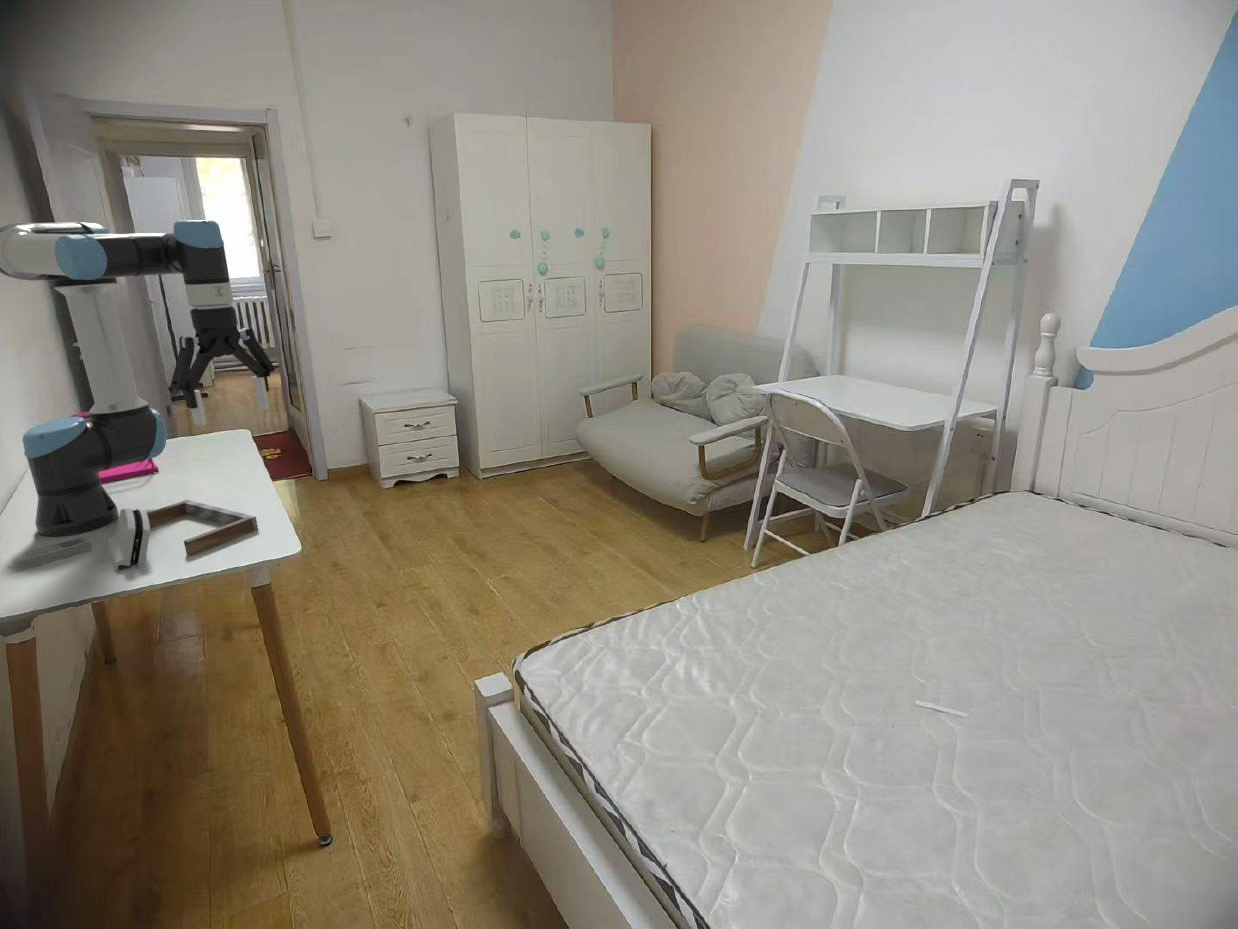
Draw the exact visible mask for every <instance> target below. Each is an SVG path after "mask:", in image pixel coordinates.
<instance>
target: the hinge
mask: <svg viewBox="0 0 1238 929" xmlns="http://www.w3.org/2000/svg"><path fill="white" fill-rule="evenodd" d="M147 513H148V512H146V511H145V510H141V509H139V508H136V509H134V510H133V509H132V508H122V509H120V512H119V517H118V521H117V526H116V529H115V530H116V532H115V534H114V535H112V536H111V537H109V538H108V541H107V546H106V548H107V551H108V554H109V558H110V562H111V566H112V568H113V572H114V573H117V572H118V571H119V566H129V567H130V566H131V565H133V563H134V565H137V566H138V567H142V566H145V565H146V560H147V553H148V548H149V540H150V535H151V528H150V525H149V519H148V516H147Z"/></svg>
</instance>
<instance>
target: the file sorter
mask: <svg viewBox="0 0 1238 929" xmlns="http://www.w3.org/2000/svg"><path fill="white" fill-rule="evenodd" d="M89 416H90V413H89V411H86V412H79V413H75V414H74V413H73V414H72V415H70V416H69V417H82V418H83V419H84V420H85V421H86V422H87V421H91V417H89ZM84 417H89V418H84ZM154 472H158V473H159V472H160V471H159V468H158V465H157V464H156V463H155V462H154V461H153V458H150V459H147V460H145V461H143V462H136V463H132V464H128V465H124V466H120V467H116V468H113V469H109V470H105V471H101V472H99V477H100V481H101V484H103V483H108V482H114V481H120V480H124V479H129V478H136V477H141V475H142V476H146V475H147V476H148V475H151V474H150V473H152V474H155V473H154Z"/></svg>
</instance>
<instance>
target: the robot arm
mask: <svg viewBox="0 0 1238 929" xmlns="http://www.w3.org/2000/svg"><path fill="white" fill-rule="evenodd" d="M172 227H173V232H165V231H163V232H145V233H144V232H141V233H140V232H139V233H111V232H109V230H108V229H107V228H105V227H104V226H103V225H101V224H99V223H95V222H80V221H74V222H72V221H71V222H66V221H65V222H18V223H11V224H6V225H4V226H0V274H2V275H4V276H7V277H10V278H12V279H15V280H23V281H32V282H33V281H36V282H37V281H52V283H53V287H54V290H56V291H57V292H58V293H60V294H62V295H63V296H65V300H66V303H67V307H68V311H69V314H70V317H71V321H72V326H73V328H74V333H75V336H76V339H77V340H76V341H77V343H78V346H79V347H78V348H79V350H80V355H81V358H82V361H83V365H84V369H85V372H86V377H87V380H88V383H89V387H90V391H91V394H92V398H93V401H94V404H93V405H92V407H91V408H90V409H89V411H88V412H89V413H90V417H89V418H91V420H90V421H85V420H84V419H85V418H84V417H70V416H69V417H64V418H56V419H53V420H49V421H46V422H43V423H40V424H37V425H36V426H34V427H31V428H30V429H28V430H27V431H26V432H24V434H23V436H22V443H23V450H24V457H25V458H26V459H27V463H28V467H29V470H30V473H31V477H32V481H33V484H34V488H35V492H36V495H37V507H36V516H35V521H34V522H35V527H36V529H37V530H36V531H37V533H38V535H41V536H46V537H60V536H70V535H76V534H81V533H82V534H83V533H84V532H85V533H86V532H89V531H93V530H95V529H99V528H102V527H104V526H107V525H109V524H112V523H113V522H115V521H116V520H117V519H119V516H120V512H119V510H118V506H117V505H116V503H115V502H114V500H113V499H112V497H111V496H110V495H109V493H108V492H107V491H106V489H105V488H104V486H103V483H101V481H100V477H99V472H101V471H105V470H109V469H113V468H116V467H120V466H124V465H128V464H132V463H136V462H143V461H145V460H147V459H150V458H152V459H153V458H156V457H158V456H160V455H161V454H162V453H163V451H164V449H165V447H166V445H167V438H168V437H167V434H168V433H167V427H166V424H165V423H166V422H165V421H164V419H163V418H162V414H160V412H159V411H157V409H154V408H150V406H149V403H148V401H146V400H145V399H142V398H141V397H140V396H139V393H138V388H137V385H136V380H135V378H134V374H133V370H132V366H131V362H130V358H129V355H128V351H127V350H128V349H127V346H126V343H125V339H124V335H123V330H122V327H121V323H120V319H119V315H118V312H117V307H116V304H115V300H114V297H113V296H114V295H113V291H114V290H115V288H116V287H118V280H117V278H124V277H125V278H126V277H142V276H143V277H144V276H145V277H146V276H159V275H160V276H161V275H162V276H163V275H175V274H177V275H178V274H179V275H181V274H182V277H183V281H184V286H185V292H186V298H187V304H188V305H189V307H192V309H190V311H189V313H190V318H191V321H192V327H193V328H194V331H195V335H194V337H193V336H180V337H179V339H178V342H179V352H178V356H177V360H176V363H175V367H174V372H173V375H172V379H171V383H170V388H171V389H172V390H178V391H181V392H182V393H183V395H184V396H183V397H184V400H185V405H186V407H187V409H191V414H192V420H193V424H194V425H197V426H206V425H208V422H207V419H206V414H205V409H204V403H203V399H202V395H201V390H198V389H197V387H198V386H199V383H200V380H202V378H203V375H204V373H205V371H206V370H207V368H208V366H209V364H210V363H211V361H213V360H214V358H221V357H224V356H231V355H232V356H234V357H236V359H238V361H240V363H242V364H243V365H244V366H246V368H247V369H248V370H250V371H251V372H252V373H253V374H254V375H256V376H252V377H251V380H252V384H253V385H252V386H253V389H254V390H253V391H254V395H255V401H256V406H257V407H256V408H257V409H259V410H269V409H270V404H269V398H268V393H267V392H270V387H269V380H268V377H270V376H271V373H273V372H274V371H275V370H276V367H275V366H274V364H273V363H272V361H271V360H270V358H269V356H268V355H267V353H266V352H265V351H264V349H263V348H262V346H261V345H260V343H259V342H258V340H257V338H256V335H255V332H254V328H252V327H241V328H240V329H238V325H239V324H238V319H237V318H238V317H237V312H236V308H235V307H234V306H232V304H233V303H234V298H233V291H232V287H231V282H230V274H229V270H228V262H227V255H226V251H225V242H224V240H223V237H222V234H221V229H220V226H219V224H218V222H217V221H214V220H211V219H210V220H208V219H201V220H200V219H197V220H176V221H175V222H174V223H173V226H172ZM240 339H241V340H242V341H243V343H244V345H245V346H246V348H247V349H248V351H249V353H250V354H251V355H250V354H249V353H248V352H247V351H246V349H245V348H244V347H243V346H242V345H241V344H240V343H239V341H241V340H240ZM197 346H198V347H199V349H198V351H197V353H196V355H195V349H196V347H197ZM194 355H195V357H196V358H195V359H194V361H193V358H194ZM196 389H197V390H196Z"/></svg>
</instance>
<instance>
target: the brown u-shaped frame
mask: <svg viewBox="0 0 1238 929" xmlns="http://www.w3.org/2000/svg"><path fill="white" fill-rule="evenodd" d="M146 513H147V516H148V519H149V525H150V529H151V528H154V527H156V526H159V525H163V524H166V523H169V522H171V521H174V520H177V519H180V518H183V517H186V516H190V517H193V518H197V519H199V520H200V519H201V520H203V521H204V520H206V521H210V522H213V523H217V524H220V525H222V526H220V527H217V528H213V529H210V530H209V531H206V532H204V533H201V534H198V535H196V536H195V535H194V537H193V536H192V537H191V538H188V539H185V540H183V544H184V548H185V552H186V555H187V556H190V557H192V556H195V555H197V554H200V553H203V552H204V551H207V550H209V549H213V548H215V547H217V546H220V545H222V543H223V544H226V543H228V542H230V541H233V540H235V539H237V537H238V538H241V537H243V536H245V534H246V535H248V534H250V533H253V532H255V530H256V531H258V530H259V527H258V526H259V525H258V521H257V517H256V516H254V515H249V514H246V513H243V512H239V511H234V510H230V509H225V508H222V507H217V506H215V505H214V506H213V505H209V504H205V503H203V502H196V501H193V500H188V499H186V500H185V499H184V500H183V501H180V502H176V503H173V504H170V505H167V506H164V507H162V508H158V509H154V510H152V511H148V512H146ZM257 529H258V530H257ZM252 531H253V532H252ZM242 535H243V536H242ZM229 540H230V541H229ZM227 541H228V542H227ZM212 547H213V548H212Z"/></svg>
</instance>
